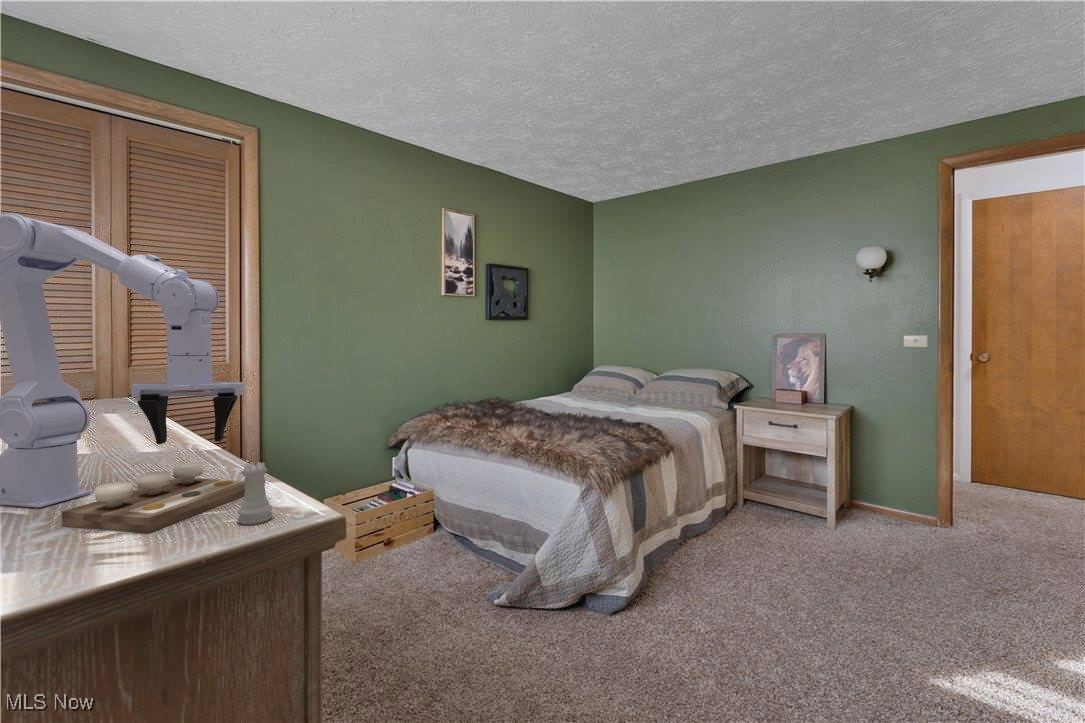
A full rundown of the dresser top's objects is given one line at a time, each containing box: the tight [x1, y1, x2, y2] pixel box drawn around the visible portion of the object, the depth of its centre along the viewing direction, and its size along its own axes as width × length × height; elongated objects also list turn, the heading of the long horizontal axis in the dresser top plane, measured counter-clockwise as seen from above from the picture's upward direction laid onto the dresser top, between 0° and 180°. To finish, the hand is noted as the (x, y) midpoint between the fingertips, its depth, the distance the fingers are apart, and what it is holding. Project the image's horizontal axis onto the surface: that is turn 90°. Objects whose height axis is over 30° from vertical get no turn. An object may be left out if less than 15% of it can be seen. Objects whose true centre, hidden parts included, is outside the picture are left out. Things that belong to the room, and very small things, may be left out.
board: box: [61, 477, 245, 534], centre depth 77 cm, size 14×18×2 cm
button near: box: [94, 481, 134, 507], centre depth 71 cm, size 4×4×3 cm
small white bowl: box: [172, 462, 204, 484], centre depth 83 cm, size 4×4×3 cm
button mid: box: [136, 470, 171, 495], centre depth 77 cm, size 4×4×3 cm
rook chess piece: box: [236, 461, 274, 526], centre depth 71 cm, size 4×4×8 cm
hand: (190, 441), depth 79 cm, fingers open, 7 cm apart
